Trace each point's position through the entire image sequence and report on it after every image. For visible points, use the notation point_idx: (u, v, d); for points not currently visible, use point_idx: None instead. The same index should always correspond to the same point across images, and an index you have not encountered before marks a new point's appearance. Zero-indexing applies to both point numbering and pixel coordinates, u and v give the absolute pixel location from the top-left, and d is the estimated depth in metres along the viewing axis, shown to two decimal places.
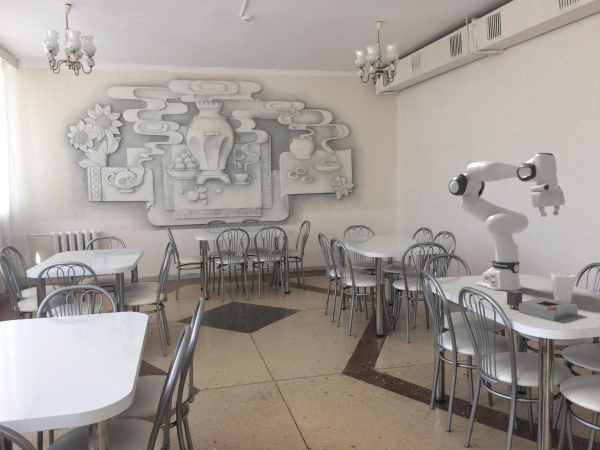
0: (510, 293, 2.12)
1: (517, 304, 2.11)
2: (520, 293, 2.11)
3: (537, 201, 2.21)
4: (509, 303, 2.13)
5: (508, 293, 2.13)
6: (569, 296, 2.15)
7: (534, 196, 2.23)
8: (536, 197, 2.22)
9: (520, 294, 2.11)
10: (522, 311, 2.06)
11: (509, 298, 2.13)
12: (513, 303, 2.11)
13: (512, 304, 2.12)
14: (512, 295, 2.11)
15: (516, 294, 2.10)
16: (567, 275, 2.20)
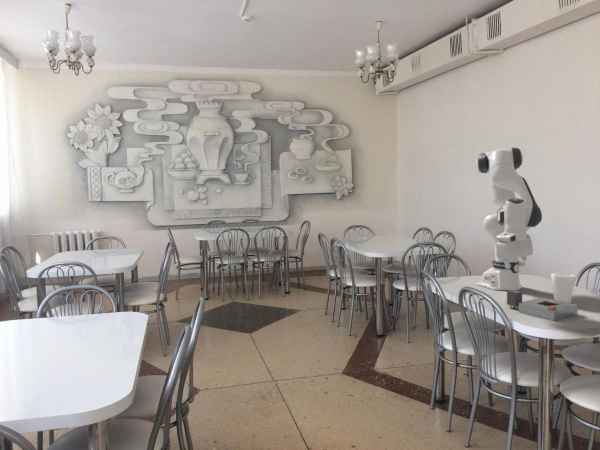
0: (510, 293, 2.12)
1: (517, 304, 2.11)
2: (520, 293, 2.11)
3: (502, 253, 2.05)
4: (509, 303, 2.13)
5: (508, 293, 2.13)
6: (569, 296, 2.15)
7: (499, 247, 2.07)
8: (501, 248, 2.05)
9: (520, 294, 2.11)
10: (522, 311, 2.06)
11: (509, 298, 2.13)
12: (513, 303, 2.11)
13: (512, 304, 2.12)
14: (512, 295, 2.11)
15: (516, 294, 2.10)
16: (567, 275, 2.20)
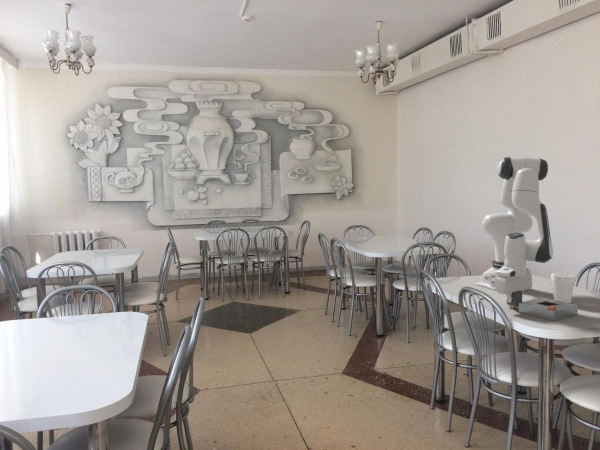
0: None
1: (517, 304, 2.11)
2: (520, 293, 2.11)
3: (502, 288, 2.07)
4: (509, 303, 2.13)
5: None
6: (569, 296, 2.15)
7: (499, 282, 2.08)
8: (501, 284, 2.07)
9: (520, 294, 2.11)
10: (522, 311, 2.06)
11: None
12: (513, 303, 2.11)
13: (512, 304, 2.12)
14: (512, 295, 2.11)
15: (516, 294, 2.10)
16: (567, 275, 2.20)
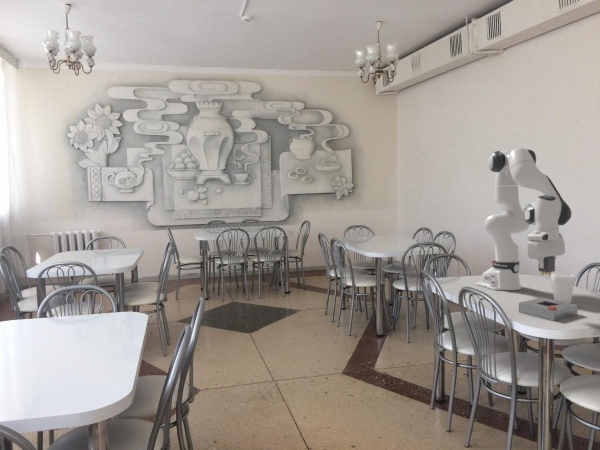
0: None
1: (550, 270, 2.00)
2: (553, 258, 2.01)
3: (534, 252, 1.96)
4: (541, 269, 2.02)
5: None
6: (569, 296, 2.15)
7: (530, 246, 1.97)
8: (533, 248, 1.96)
9: (553, 259, 2.01)
10: (522, 311, 2.06)
11: None
12: (545, 269, 2.00)
13: (544, 270, 2.01)
14: (544, 261, 2.01)
15: (549, 259, 1.99)
16: (567, 275, 2.20)
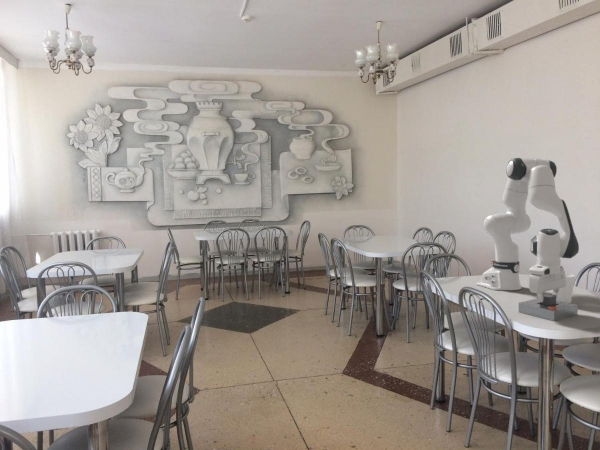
0: None
1: None
2: (554, 298, 2.02)
3: (535, 286, 1.97)
4: None
5: None
6: (569, 296, 2.15)
7: (532, 280, 1.98)
8: (535, 282, 1.97)
9: (554, 299, 2.02)
10: (522, 311, 2.06)
11: (542, 303, 2.04)
12: None
13: None
14: (546, 300, 2.02)
15: (550, 299, 2.01)
16: (567, 275, 2.20)
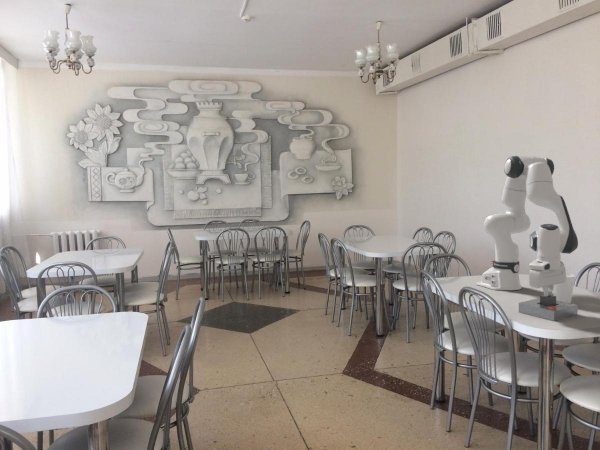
0: (543, 298, 2.03)
1: None
2: (554, 298, 2.02)
3: (536, 281, 1.97)
4: None
5: (541, 298, 2.04)
6: (569, 296, 2.15)
7: (532, 275, 1.98)
8: (535, 277, 1.97)
9: (554, 299, 2.02)
10: (522, 311, 2.06)
11: (542, 303, 2.04)
12: None
13: None
14: (546, 300, 2.02)
15: (550, 299, 2.01)
16: (567, 275, 2.20)
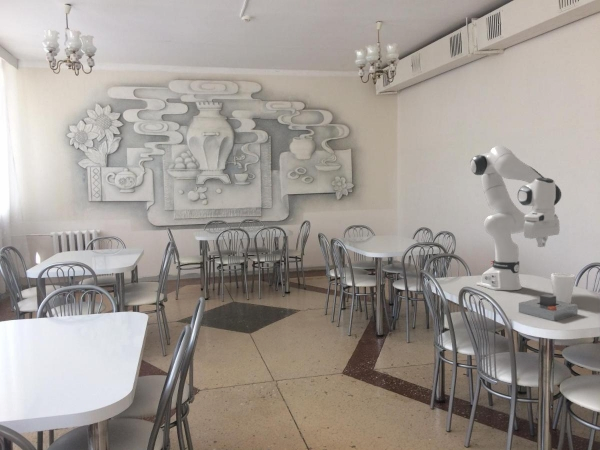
0: (543, 298, 2.03)
1: None
2: (554, 298, 2.02)
3: (530, 232, 2.05)
4: None
5: (541, 298, 2.04)
6: (569, 296, 2.15)
7: (527, 226, 2.06)
8: (529, 228, 2.05)
9: (554, 299, 2.02)
10: (522, 311, 2.06)
11: (542, 303, 2.04)
12: None
13: None
14: (546, 300, 2.02)
15: (550, 299, 2.01)
16: (567, 275, 2.20)
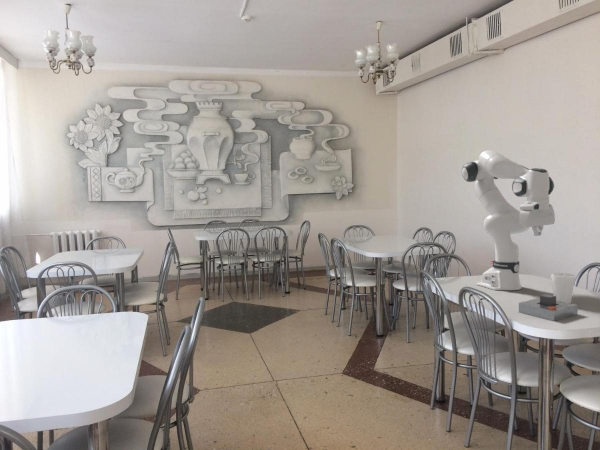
0: (543, 298, 2.03)
1: None
2: (554, 298, 2.02)
3: (526, 221, 2.10)
4: None
5: (541, 298, 2.04)
6: (569, 296, 2.15)
7: (523, 215, 2.11)
8: (525, 217, 2.10)
9: (554, 299, 2.02)
10: (522, 311, 2.06)
11: (542, 303, 2.04)
12: None
13: None
14: (546, 300, 2.02)
15: (550, 299, 2.01)
16: (567, 275, 2.20)
